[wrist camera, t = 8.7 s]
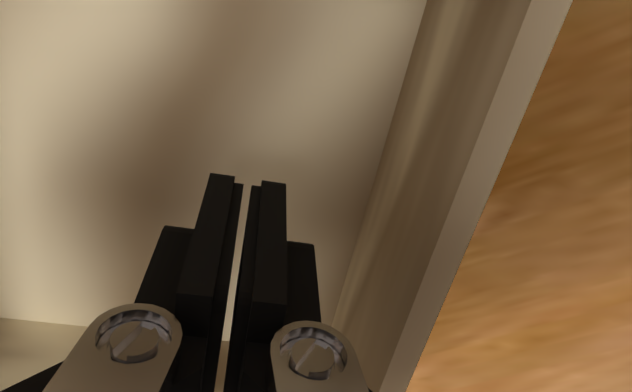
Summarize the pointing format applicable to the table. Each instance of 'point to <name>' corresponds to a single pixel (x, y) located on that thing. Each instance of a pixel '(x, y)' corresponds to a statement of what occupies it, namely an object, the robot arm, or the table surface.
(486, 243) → the table surface
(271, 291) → the robot arm
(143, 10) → the crate
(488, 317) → the table surface
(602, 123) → the table surface
